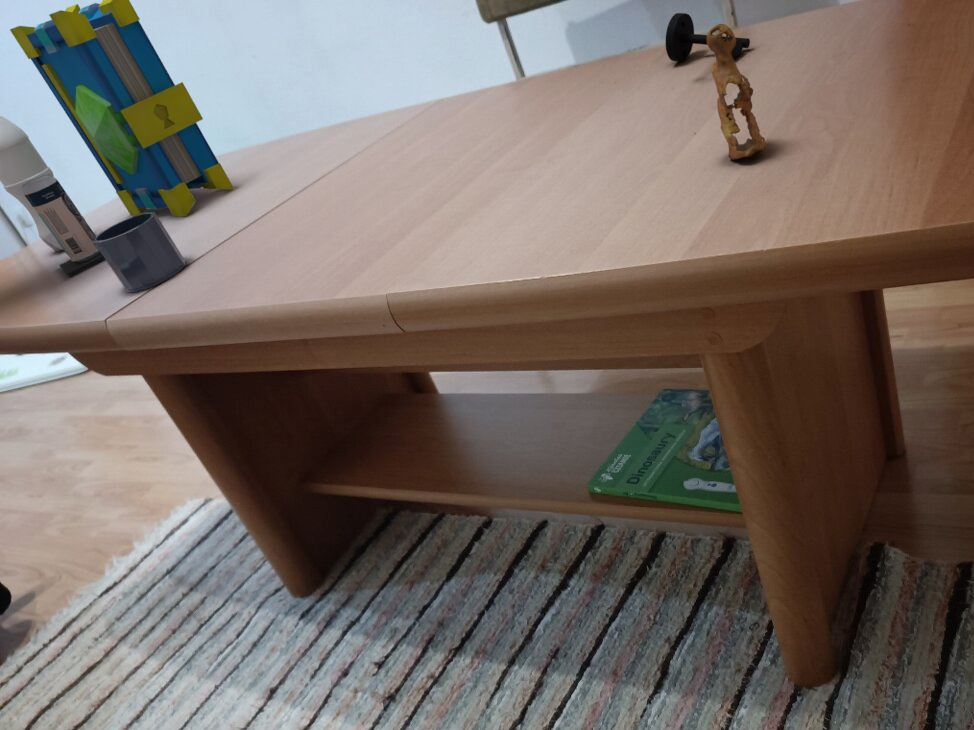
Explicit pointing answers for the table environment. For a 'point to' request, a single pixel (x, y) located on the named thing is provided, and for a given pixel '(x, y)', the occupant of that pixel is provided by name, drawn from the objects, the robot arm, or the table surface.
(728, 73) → the figurine
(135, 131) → the decorative book
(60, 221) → the supplement bottle
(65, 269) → the mat
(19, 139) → the water bottle
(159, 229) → the cup
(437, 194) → the table surface
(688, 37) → the light fixture
